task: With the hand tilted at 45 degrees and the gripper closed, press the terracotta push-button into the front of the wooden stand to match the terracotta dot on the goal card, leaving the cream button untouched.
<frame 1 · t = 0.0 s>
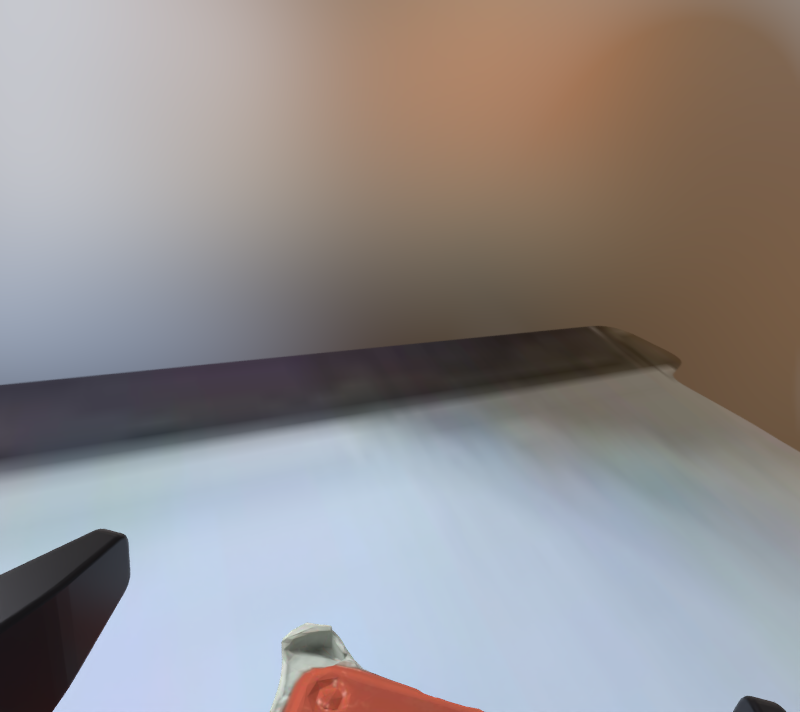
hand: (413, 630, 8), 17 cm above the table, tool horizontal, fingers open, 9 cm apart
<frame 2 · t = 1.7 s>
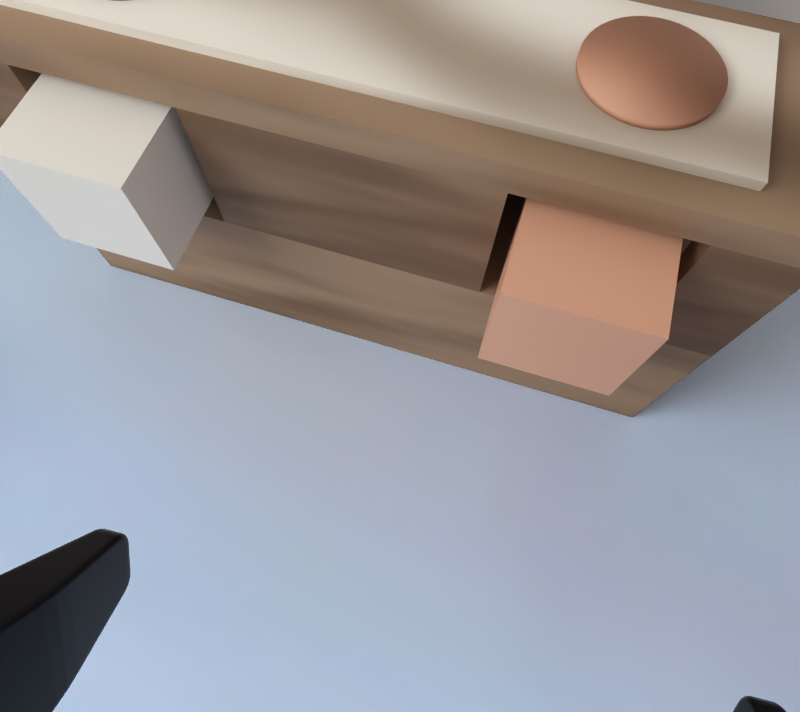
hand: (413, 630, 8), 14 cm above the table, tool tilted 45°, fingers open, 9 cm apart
wooden stand: (373, 299, 26), on the table
terracotta button: (574, 287, 16), point 9 cm above the table, slide at 0.0 cm
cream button: (120, 164, 18), point 9 cm above the table, slide at 0.0 cm
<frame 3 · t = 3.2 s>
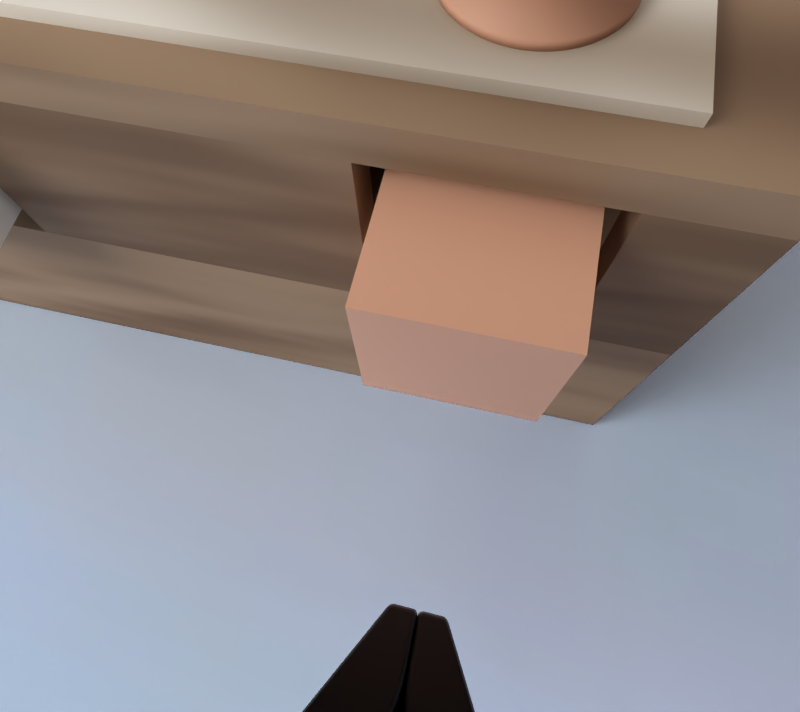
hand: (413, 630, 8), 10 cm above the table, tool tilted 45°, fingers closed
wooden stand: (278, 306, 22), on the table
terracotta button: (473, 283, 12), point 9 cm above the table, slide at 0.0 cm
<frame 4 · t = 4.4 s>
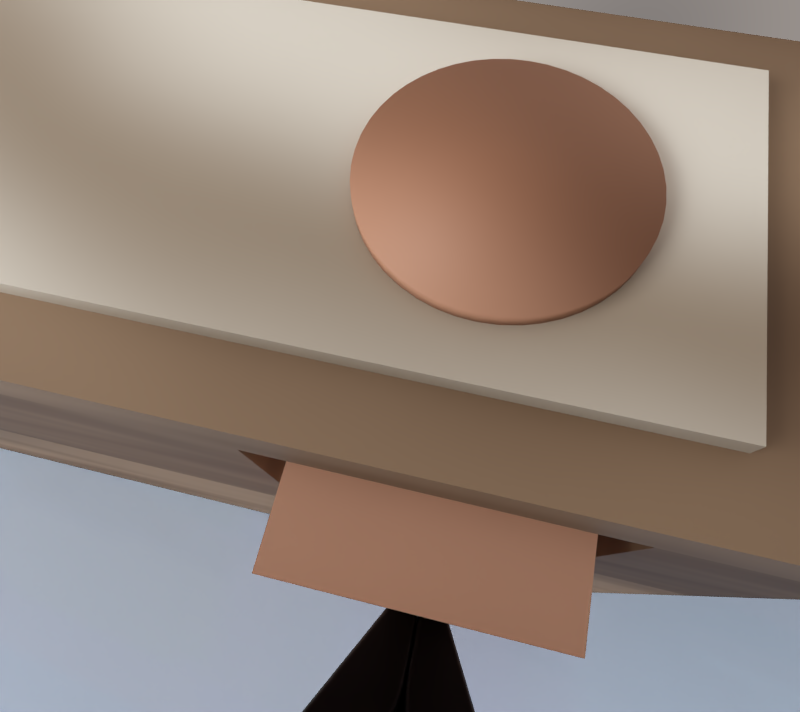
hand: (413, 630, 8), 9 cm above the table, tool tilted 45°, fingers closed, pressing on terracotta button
wooden stand: (224, 436, 19), on the table
terracotta button: (440, 477, 9), point 9 cm above the table, slide at 1.2 cm, touching gripper
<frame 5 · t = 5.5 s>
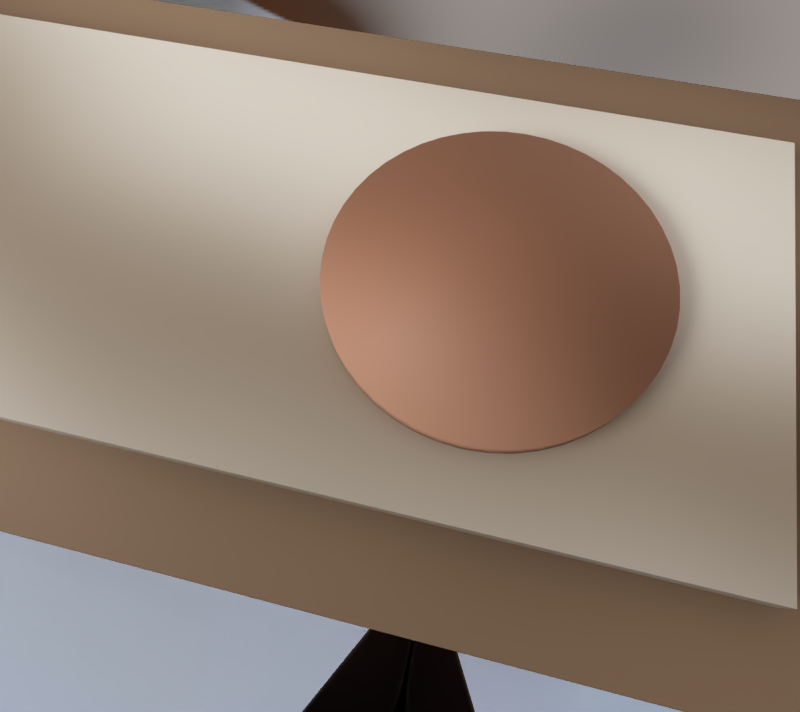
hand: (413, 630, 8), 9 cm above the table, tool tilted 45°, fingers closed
wooden stand: (211, 476, 18), on the table
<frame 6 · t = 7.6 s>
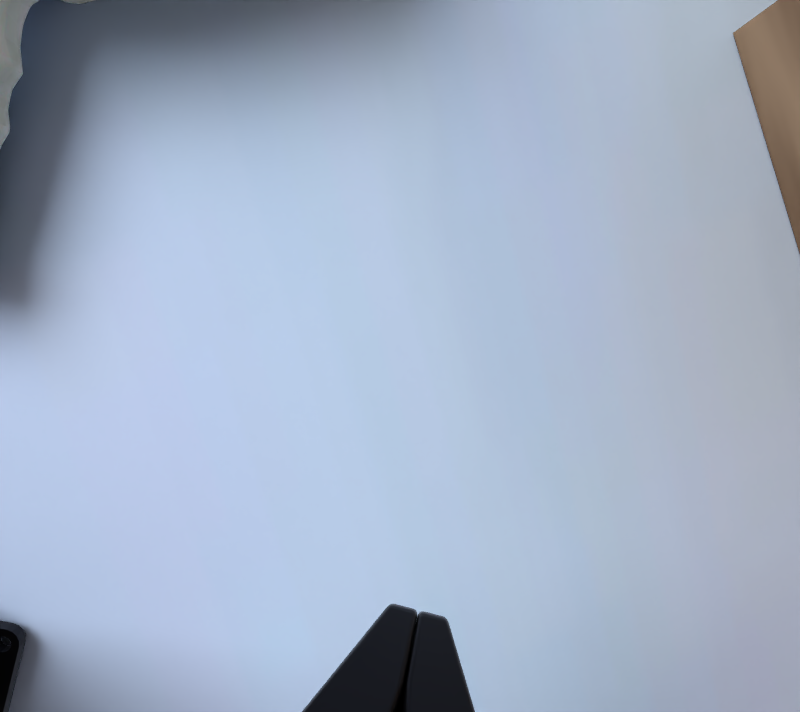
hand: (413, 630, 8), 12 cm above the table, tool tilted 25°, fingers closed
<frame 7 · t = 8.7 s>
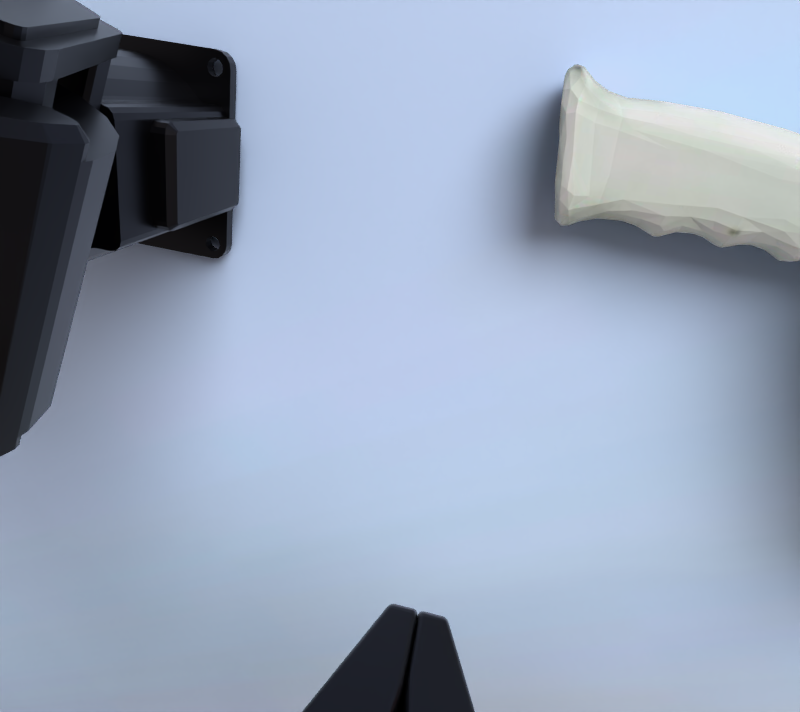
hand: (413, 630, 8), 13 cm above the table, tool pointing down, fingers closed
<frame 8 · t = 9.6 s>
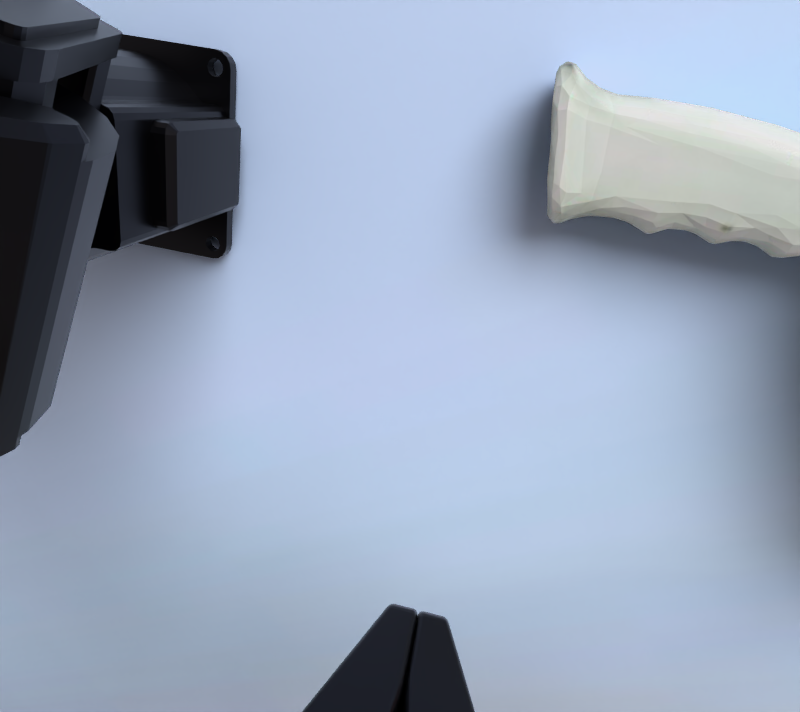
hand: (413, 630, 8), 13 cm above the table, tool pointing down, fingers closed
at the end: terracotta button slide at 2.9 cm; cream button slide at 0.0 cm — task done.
